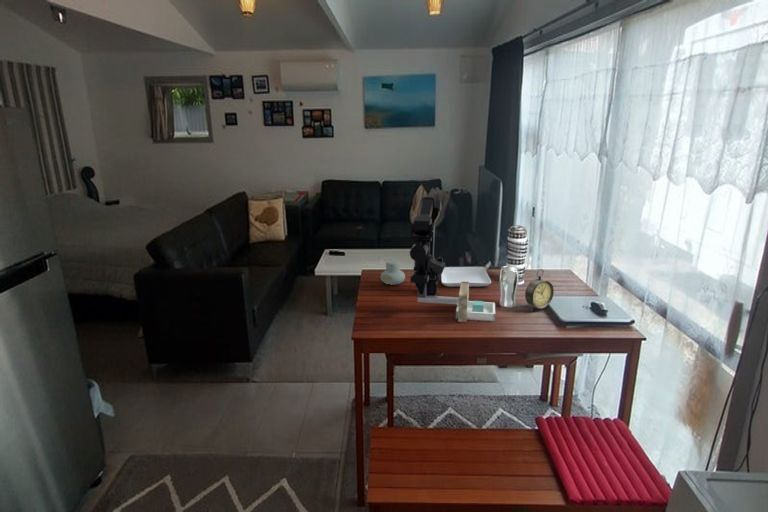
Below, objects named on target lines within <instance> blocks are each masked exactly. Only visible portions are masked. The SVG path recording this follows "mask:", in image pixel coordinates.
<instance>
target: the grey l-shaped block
mask: <svg viewBox="0 0 768 512" xmlns="http://www.w3.org/2000/svg"><path fill="white" fill-rule="evenodd" d="M426 285H427V283H425V286H424V291H423V294H420V293H419V291H418V290H417V302H418V303H432V304H445V305H446V304H447V305H457V304H459V296H458V297H456V296H441V295H435V296H427V295H426Z"/></svg>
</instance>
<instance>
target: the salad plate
mask: <svg viewBox="0 0 768 512" xmlns="http://www.w3.org/2000/svg"><path fill="white" fill-rule="evenodd" d="M440 281H441V284H442V285H443V286H445V287H451V288H455V287H456V288H460V286H461V282H469V288H471V287H472V288H477V287H486V286H490V285H491V284H492V280H491V278H490V276H489V273H488V272H487V270H486V267H485V266H445V268H444V270H443V272H442V274H440Z"/></svg>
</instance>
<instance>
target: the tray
mask: <svg viewBox="0 0 768 512" xmlns="http://www.w3.org/2000/svg"><path fill="white" fill-rule="evenodd" d="M473 301H474V300H468V303H467V321H478V320H479V321H481V322H493V323H494V322H495V321H496V303H495V302H489V301H484V309H483V312H472V307H473ZM458 311H459V304H456V309H455V319H456V320H458Z"/></svg>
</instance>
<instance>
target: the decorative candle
mask: <svg viewBox="0 0 768 512" xmlns="http://www.w3.org/2000/svg"><path fill="white" fill-rule="evenodd" d="M507 232H508V235H507V241H506V242H505V249H506V250H505V256H506V263H505V264H506V265H505V266H513V267H517V268H518V269H519V270H518V272H519V279H518V286H519V285H523V284H525V276H526V275H525V273H526V266H525V264H526V263H525V262H526V261H525V259H526V258H527V255H526V254H527V253H528V251H527V250H528V247H527V246H529V244H528V242H529V239H528V237H527V235H528V234H527V233H528V229H526V227H525V226H523V225H518V224H517V225H512V226H510V228H508V229H507Z"/></svg>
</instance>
